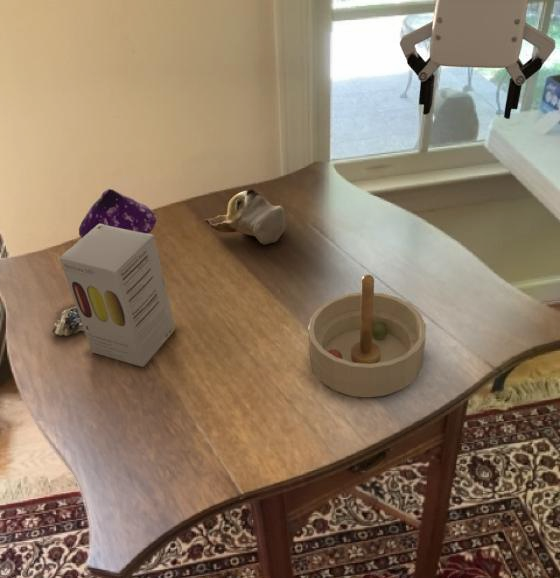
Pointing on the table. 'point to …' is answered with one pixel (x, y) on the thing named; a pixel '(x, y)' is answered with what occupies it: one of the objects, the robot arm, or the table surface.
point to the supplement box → (119, 293)
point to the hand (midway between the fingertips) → (466, 112)
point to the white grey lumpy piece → (68, 322)
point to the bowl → (393, 348)
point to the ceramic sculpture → (252, 217)
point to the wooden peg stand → (366, 326)
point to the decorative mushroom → (118, 214)
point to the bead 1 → (335, 353)
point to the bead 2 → (379, 330)
